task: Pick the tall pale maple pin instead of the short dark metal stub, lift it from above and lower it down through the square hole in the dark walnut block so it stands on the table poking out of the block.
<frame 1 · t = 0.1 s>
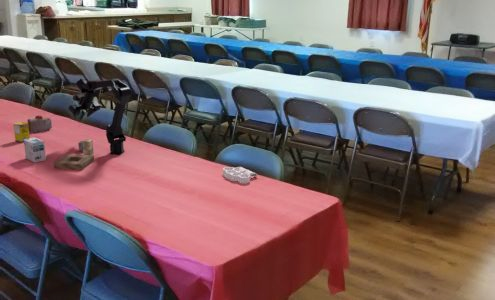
hand: (80, 118, 311), 15 cm above the table, tool tilted 35°, fingers open, 9 cm apart
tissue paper: (238, 178, 264), on the table
supplement box: (22, 141, 316), on the table
light bulb box: (35, 159, 284), on the table
grey box with knob: (40, 130, 339), on the table
metal stub: (83, 150, 300), on the table
maple pin: (88, 156, 291), on the table
walnut sleeve block: (74, 164, 277), on the table
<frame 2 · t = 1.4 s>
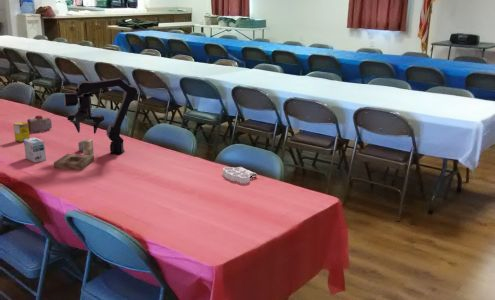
hand: (86, 133, 287), 13 cm above the table, tool pointing down, fingers open, 9 cm apart
nothing on the table moved.
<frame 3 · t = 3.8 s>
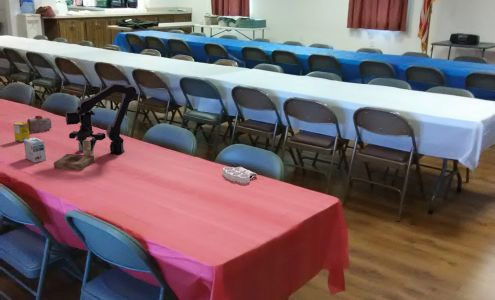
hand: (88, 150, 290), 3 cm above the table, tool pointing down, fingers closed on maple pin, 4 cm apart
maple pin: (88, 156, 291), on the table, touching gripper
everything else where it was.
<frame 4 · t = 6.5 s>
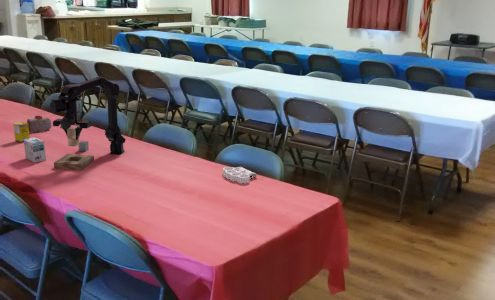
hand: (73, 139, 274), 13 cm above the table, tool pointing down, fingers closed on maple pin, 4 cm apart
maple pin: (73, 145, 275), point 10 cm above the table, touching gripper
everything else where it was.
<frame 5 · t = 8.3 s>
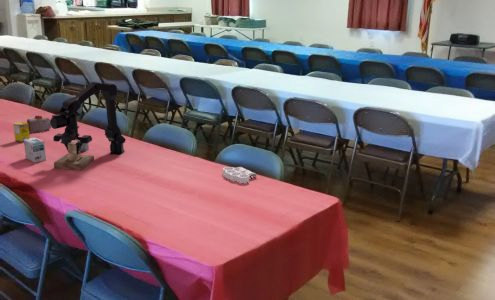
hand: (74, 154, 275), 6 cm above the table, tool pointing down, fingers closed on maple pin, 4 cm apart
maple pin: (74, 159, 276), point 3 cm above the table, touching gripper
everything else where it was.
when the fingers open (4 cm above the table, at t = 9.4 s): maple pin drops 1 cm, resting in walnut sleeve block.
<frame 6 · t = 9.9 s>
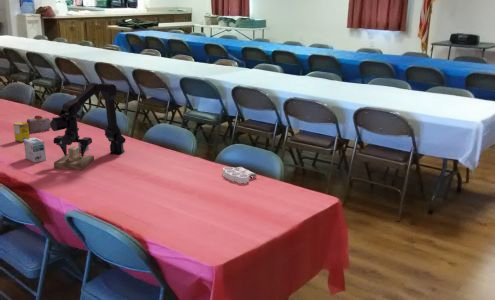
hand: (74, 156, 276), 4 cm above the table, tool pointing down, fingers open, 9 cm apart
maple pin: (74, 164, 277), resting in walnut sleeve block
everything else where it was.
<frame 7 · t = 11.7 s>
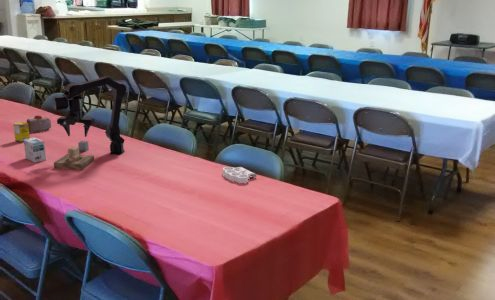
hand: (77, 136, 282), 13 cm above the table, tool pointing down, fingers open, 9 cm apart
nothing on the table moved.
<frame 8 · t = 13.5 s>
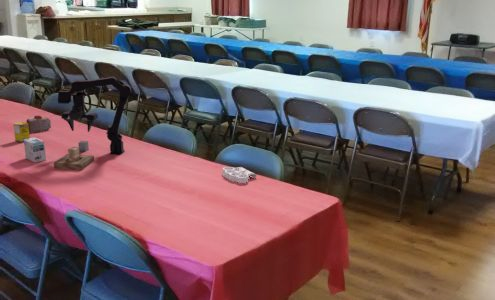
hand: (80, 131, 291), 13 cm above the table, tool pointing down, fingers open, 9 cm apart
nothing on the table moved.
at the end: maple pin 0.0 cm off-centre on the walnut sleeve block, point 0.0 cm above the walnut sleeve block's base; maple pin tilted 0°; metal stub moved 0.1 cm from its start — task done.
